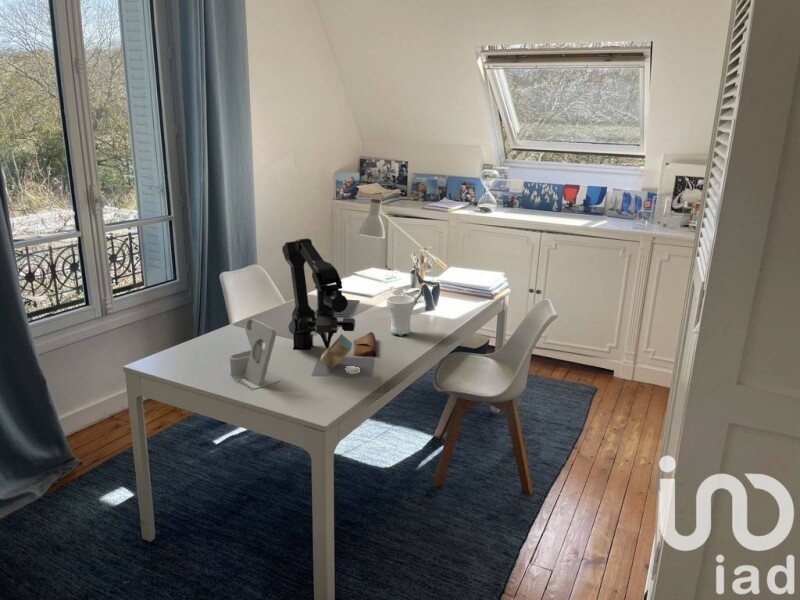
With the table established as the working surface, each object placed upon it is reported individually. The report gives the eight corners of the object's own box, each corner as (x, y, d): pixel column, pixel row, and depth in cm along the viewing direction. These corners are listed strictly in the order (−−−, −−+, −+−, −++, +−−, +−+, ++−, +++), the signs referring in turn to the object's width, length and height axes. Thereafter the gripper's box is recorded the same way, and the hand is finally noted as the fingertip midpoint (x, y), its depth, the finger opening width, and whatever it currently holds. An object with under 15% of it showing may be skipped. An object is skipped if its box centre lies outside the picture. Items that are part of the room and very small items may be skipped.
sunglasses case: (352, 339, 232) (361, 325, 230) (368, 348, 233) (377, 334, 232) (352, 358, 214) (362, 342, 213) (369, 367, 216) (379, 352, 215)
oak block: (320, 360, 203) (339, 340, 200) (322, 353, 208) (341, 333, 206) (331, 370, 204) (350, 349, 201) (333, 362, 209) (352, 343, 207)
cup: (413, 328, 244) (414, 295, 240) (415, 338, 234) (416, 303, 230) (386, 328, 244) (386, 295, 240) (386, 338, 233) (386, 303, 229)
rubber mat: (311, 377, 199) (311, 375, 199) (318, 358, 214) (318, 357, 214) (372, 377, 199) (372, 376, 199) (374, 358, 214) (374, 357, 214)
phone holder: (227, 373, 201) (223, 322, 196) (255, 365, 207) (251, 316, 202) (253, 391, 189) (249, 337, 183) (281, 382, 195) (279, 329, 190)
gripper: (293, 311, 192) (295, 356, 197) (352, 312, 192) (352, 357, 196) (299, 301, 203) (301, 344, 207) (355, 301, 203) (355, 345, 207)
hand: (327, 348), depth 204 cm, fingers closed
